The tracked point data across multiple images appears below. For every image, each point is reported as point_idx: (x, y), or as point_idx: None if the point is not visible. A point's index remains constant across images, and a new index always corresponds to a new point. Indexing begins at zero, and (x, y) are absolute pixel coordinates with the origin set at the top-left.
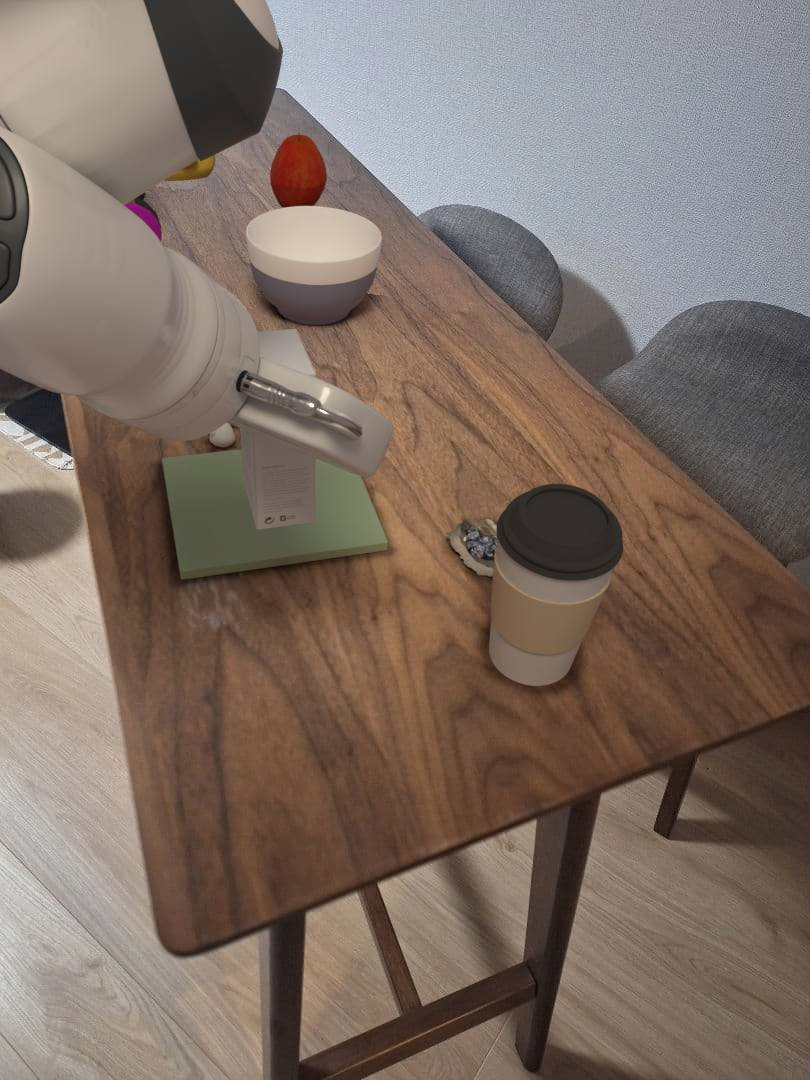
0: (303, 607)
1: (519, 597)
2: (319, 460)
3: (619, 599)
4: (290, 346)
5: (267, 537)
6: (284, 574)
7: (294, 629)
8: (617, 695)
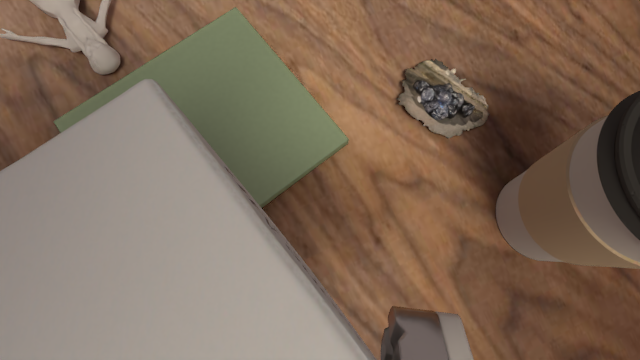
0: (303, 259)
1: (631, 265)
2: (224, 51)
3: (583, 109)
4: (190, 277)
5: None
6: None
7: None
8: None
